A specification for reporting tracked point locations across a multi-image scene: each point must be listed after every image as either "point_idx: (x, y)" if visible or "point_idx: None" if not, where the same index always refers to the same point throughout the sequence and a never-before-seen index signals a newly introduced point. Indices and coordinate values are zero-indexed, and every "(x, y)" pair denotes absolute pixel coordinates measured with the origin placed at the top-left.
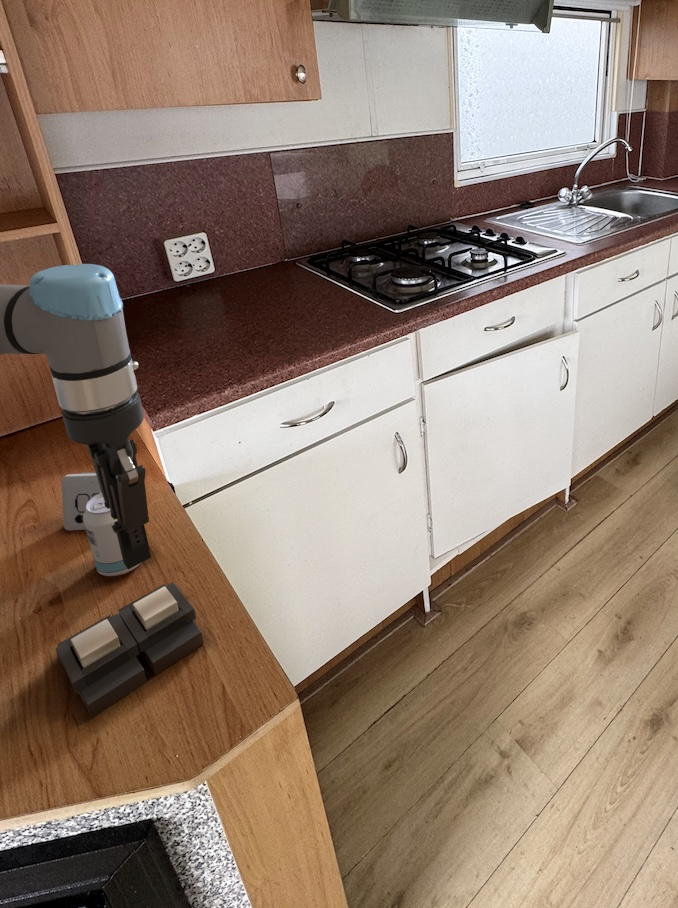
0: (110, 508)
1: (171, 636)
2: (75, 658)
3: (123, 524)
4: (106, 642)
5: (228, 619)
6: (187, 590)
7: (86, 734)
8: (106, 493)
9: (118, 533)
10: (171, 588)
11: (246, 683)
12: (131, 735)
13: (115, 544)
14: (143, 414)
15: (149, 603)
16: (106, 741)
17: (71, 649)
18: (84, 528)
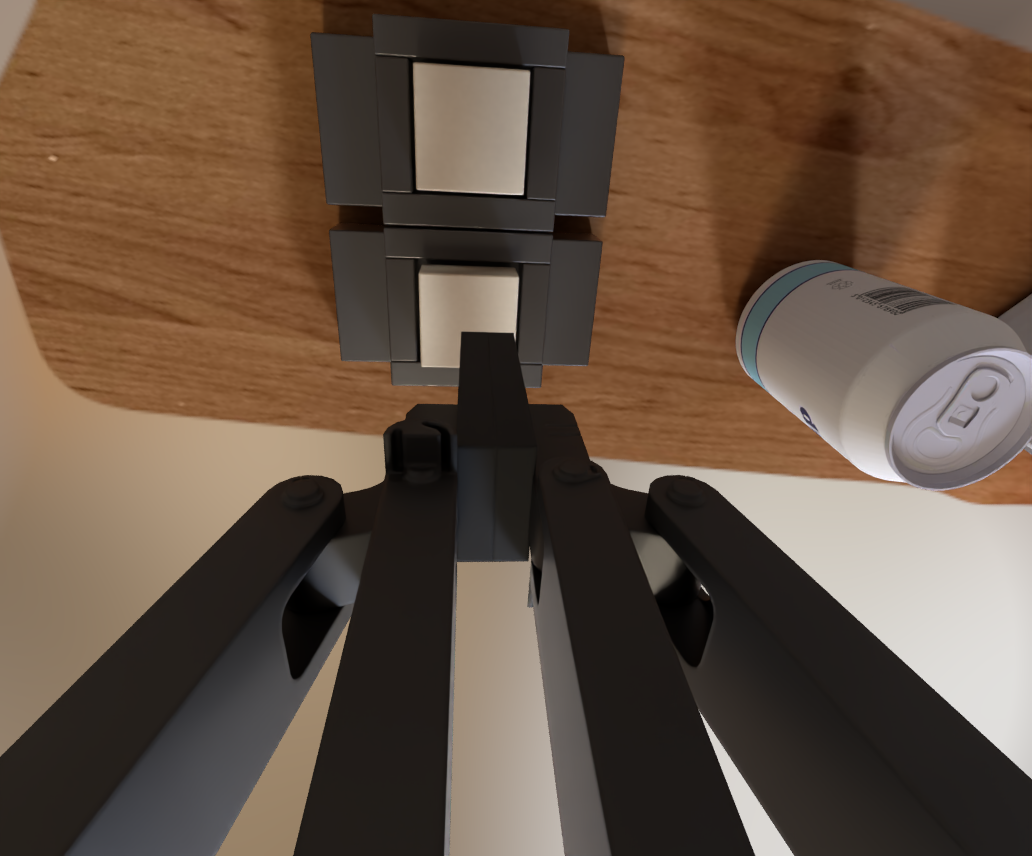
0: (596, 503)
1: (384, 302)
2: None
3: (317, 507)
4: (419, 153)
5: (380, 415)
6: (553, 390)
7: (280, 8)
8: (651, 600)
9: (485, 417)
10: None
11: (159, 361)
12: (192, 98)
13: (804, 340)
14: None
15: (478, 311)
16: (218, 40)
17: (532, 70)
18: (1029, 299)
